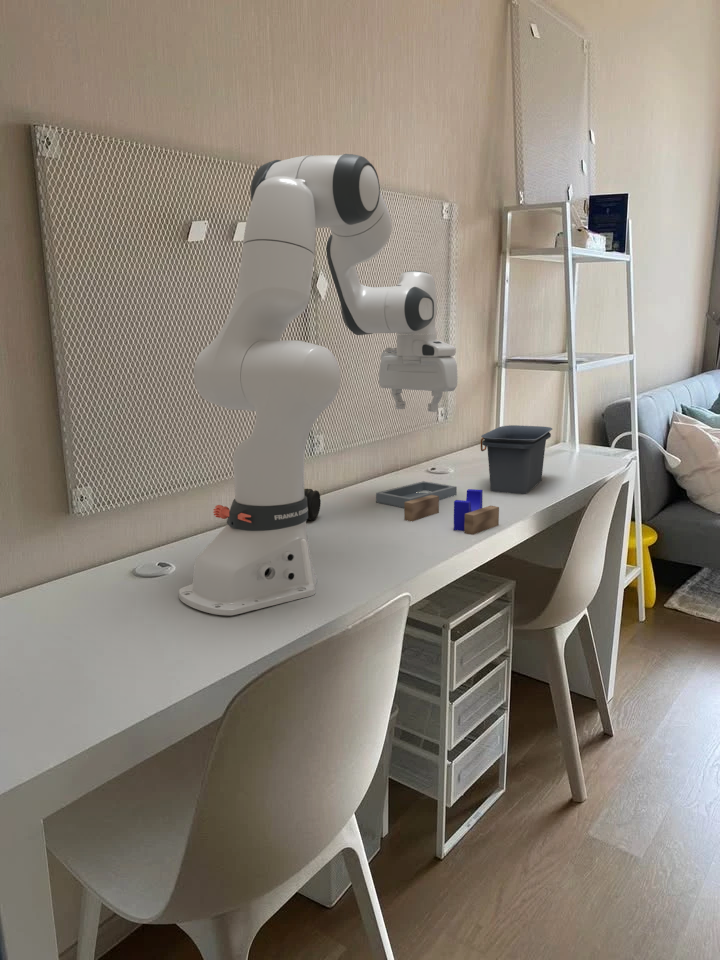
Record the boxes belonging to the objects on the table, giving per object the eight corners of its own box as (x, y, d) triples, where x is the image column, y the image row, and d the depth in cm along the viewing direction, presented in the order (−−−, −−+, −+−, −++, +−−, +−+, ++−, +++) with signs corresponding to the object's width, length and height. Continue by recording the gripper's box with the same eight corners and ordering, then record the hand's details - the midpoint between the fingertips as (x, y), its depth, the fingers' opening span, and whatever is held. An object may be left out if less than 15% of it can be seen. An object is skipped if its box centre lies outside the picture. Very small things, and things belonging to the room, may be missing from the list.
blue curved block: (461, 516, 160) (461, 488, 159) (482, 517, 158) (482, 489, 157) (446, 530, 149) (446, 501, 148) (468, 532, 148) (468, 502, 146)
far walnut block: (411, 522, 156) (411, 503, 155) (404, 520, 157) (404, 502, 156) (438, 514, 162) (438, 496, 161) (431, 512, 163) (431, 494, 163)
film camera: (318, 530, 151) (317, 481, 149) (257, 531, 151) (254, 482, 149) (322, 509, 168) (321, 465, 166) (267, 509, 168) (265, 466, 166)
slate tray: (409, 510, 165) (409, 499, 164) (376, 503, 172) (376, 492, 171) (456, 497, 177) (456, 486, 176) (423, 491, 184) (423, 481, 183)
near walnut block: (472, 535, 145) (473, 515, 144) (464, 533, 147) (464, 513, 146) (498, 526, 152) (499, 507, 151) (490, 524, 153) (490, 505, 152)
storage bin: (533, 500, 172) (535, 438, 170) (468, 494, 179) (469, 435, 176) (553, 482, 191) (555, 427, 188) (494, 478, 198) (495, 424, 195)
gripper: (372, 347, 171) (372, 408, 174) (444, 348, 157) (443, 414, 160) (390, 347, 176) (391, 406, 178) (462, 347, 162) (461, 411, 165)
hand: (416, 410), depth 169 cm, fingers open, 8 cm apart
